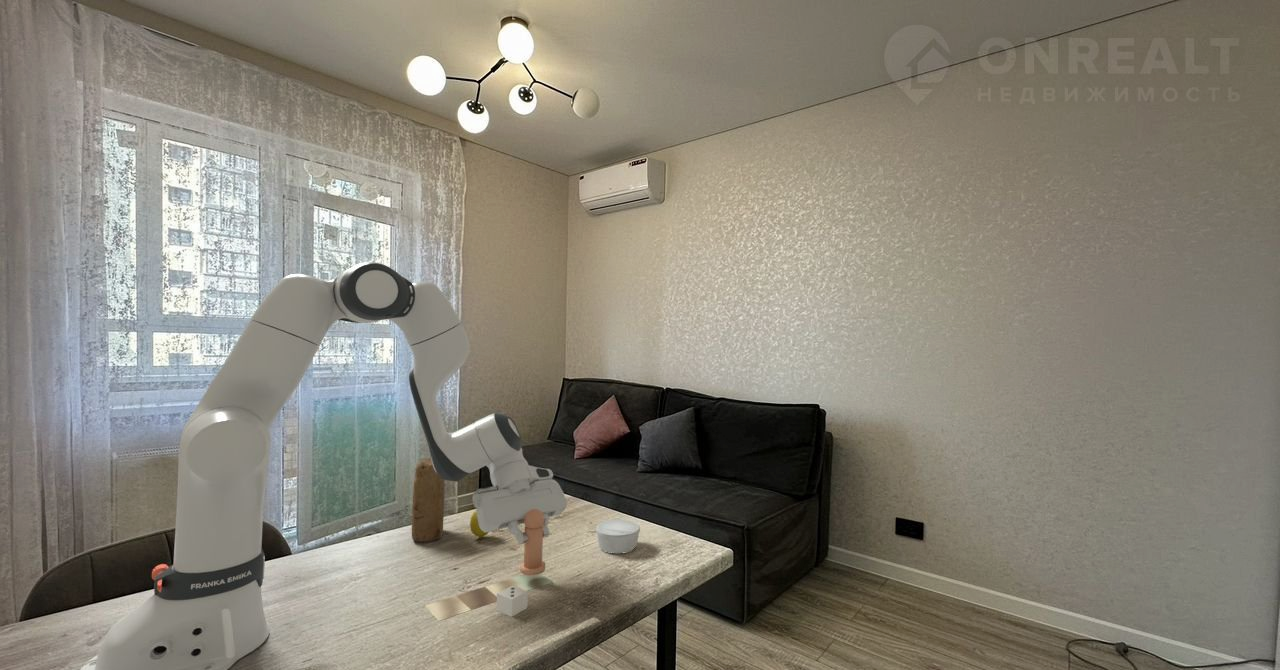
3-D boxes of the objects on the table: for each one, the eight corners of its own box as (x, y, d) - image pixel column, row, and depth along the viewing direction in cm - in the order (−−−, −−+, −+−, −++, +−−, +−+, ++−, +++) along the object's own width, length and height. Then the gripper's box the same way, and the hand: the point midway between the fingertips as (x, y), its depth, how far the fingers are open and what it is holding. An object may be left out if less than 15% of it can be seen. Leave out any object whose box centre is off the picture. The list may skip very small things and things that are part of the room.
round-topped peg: (528, 577, 103) (529, 515, 104) (515, 568, 107) (517, 509, 107) (549, 570, 107) (551, 510, 107) (537, 562, 110) (538, 504, 111)
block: (441, 542, 128) (444, 463, 129) (409, 545, 126) (412, 464, 127) (445, 527, 138) (447, 454, 139) (415, 529, 136) (418, 455, 137)
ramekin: (599, 558, 121) (599, 535, 121) (592, 540, 132) (593, 520, 132) (644, 554, 124) (644, 533, 124) (633, 538, 135) (634, 518, 135)
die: (511, 621, 92) (512, 599, 92) (496, 615, 94) (496, 593, 94) (527, 612, 95) (527, 590, 95) (512, 606, 97) (512, 585, 98)
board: (438, 625, 90) (438, 620, 90) (424, 609, 95) (424, 605, 95) (553, 585, 106) (553, 581, 106) (535, 574, 111) (535, 570, 111)
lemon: (465, 538, 131) (466, 507, 131) (482, 532, 135) (483, 502, 136) (478, 543, 128) (479, 512, 128) (496, 537, 132) (497, 506, 133)
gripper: (474, 482, 106) (494, 543, 98) (557, 468, 119) (580, 521, 112) (465, 499, 109) (483, 559, 101) (546, 483, 122) (568, 535, 115)
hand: (535, 539), depth 107 cm, fingers closed on round-topped peg, 4 cm apart
